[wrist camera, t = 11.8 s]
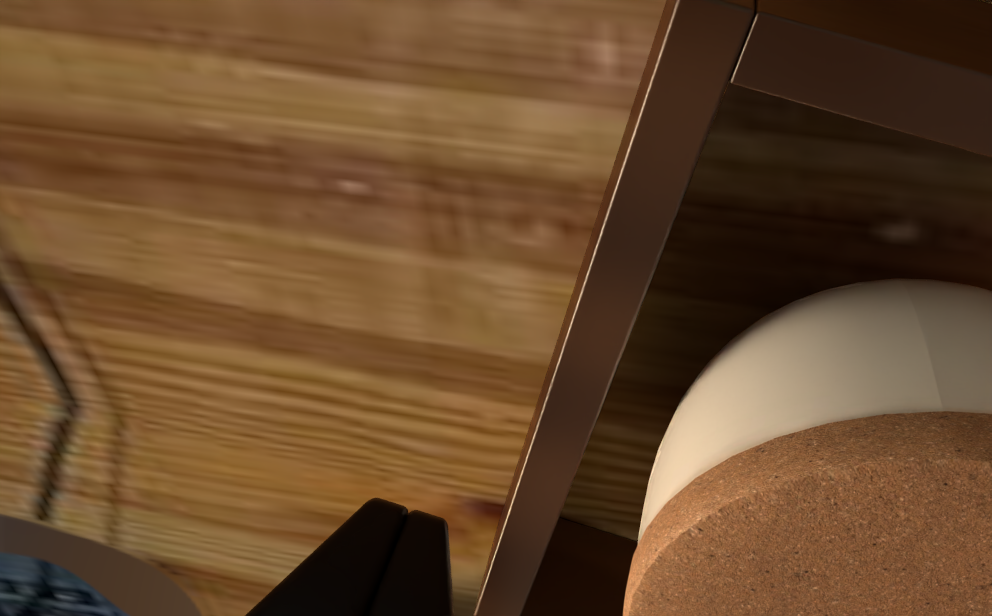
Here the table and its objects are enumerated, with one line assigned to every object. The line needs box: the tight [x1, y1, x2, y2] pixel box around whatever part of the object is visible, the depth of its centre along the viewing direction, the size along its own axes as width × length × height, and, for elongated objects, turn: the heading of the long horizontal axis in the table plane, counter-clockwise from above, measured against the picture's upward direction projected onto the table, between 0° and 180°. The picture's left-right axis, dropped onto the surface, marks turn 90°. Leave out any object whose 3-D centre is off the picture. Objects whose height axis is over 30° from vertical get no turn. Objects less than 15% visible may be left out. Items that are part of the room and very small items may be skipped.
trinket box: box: [623, 279, 992, 616], centre depth 18 cm, size 11×11×9 cm
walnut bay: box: [473, 0, 992, 616], centre depth 20 cm, size 18×11×4 cm, turn 169°
